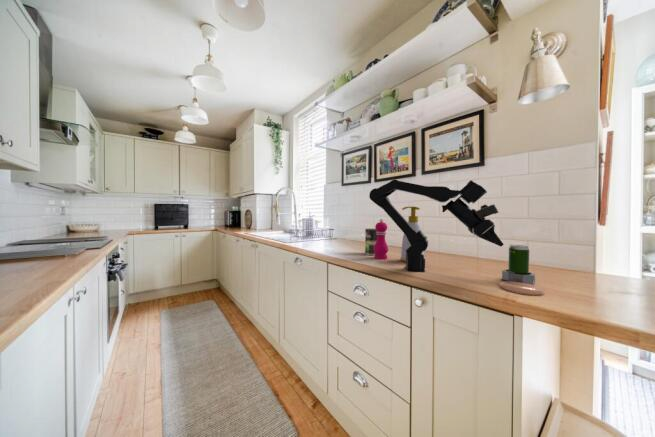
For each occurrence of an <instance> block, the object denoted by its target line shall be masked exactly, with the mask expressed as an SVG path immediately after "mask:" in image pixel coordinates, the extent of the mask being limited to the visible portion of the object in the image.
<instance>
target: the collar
mask: <svg viewBox="0 0 655 437" xmlns="http://www.w3.org/2000/svg"><path fill="white" fill-rule="evenodd" d="M501 279H502V280H503V281H505V282H506V281H510V282H520V283H526V284H531V285H535V283H536V273H534V272H531V271H529V275H524V274H515V273H510V272H508V268H505V269H502V270H501Z"/></svg>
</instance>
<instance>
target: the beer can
mask: <svg viewBox="0 0 655 437" xmlns="http://www.w3.org/2000/svg"><path fill="white" fill-rule="evenodd" d="M507 269H508V272H510V273H515V274H524V275H529V272H530V247H529V246H528V245H520V244H510V245H509V247H508V264H507Z"/></svg>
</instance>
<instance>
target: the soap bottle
mask: <svg viewBox="0 0 655 437" xmlns="http://www.w3.org/2000/svg"><path fill="white" fill-rule="evenodd" d="M407 209H410V215H409V216H408V221H407V222H408V223H409V224H410V226H411V227H412V228H413V229H414V230H416V231H417V232H418V231H419V230H421V231H422V230H423V229H422V227H421V224H420V223H419V216H418V215H417V216H416V211H417V210H418V211H419V210H420V209H421V208H420V207H417V206H404V207H402V208H401V210H402V211H403V210H407ZM422 232H423V231H422ZM410 246H411V244H410V243H409V241H408V239H407V237H406V235H405V234H404V233H403V236H402V241H401V252H400V254H401V255H400V261H401V262H404V263H406V254H407V253H406V250H407V249H408V248H409V247H410ZM421 254H423V255H424V256H425V251H423V252H422V253H421Z"/></svg>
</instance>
